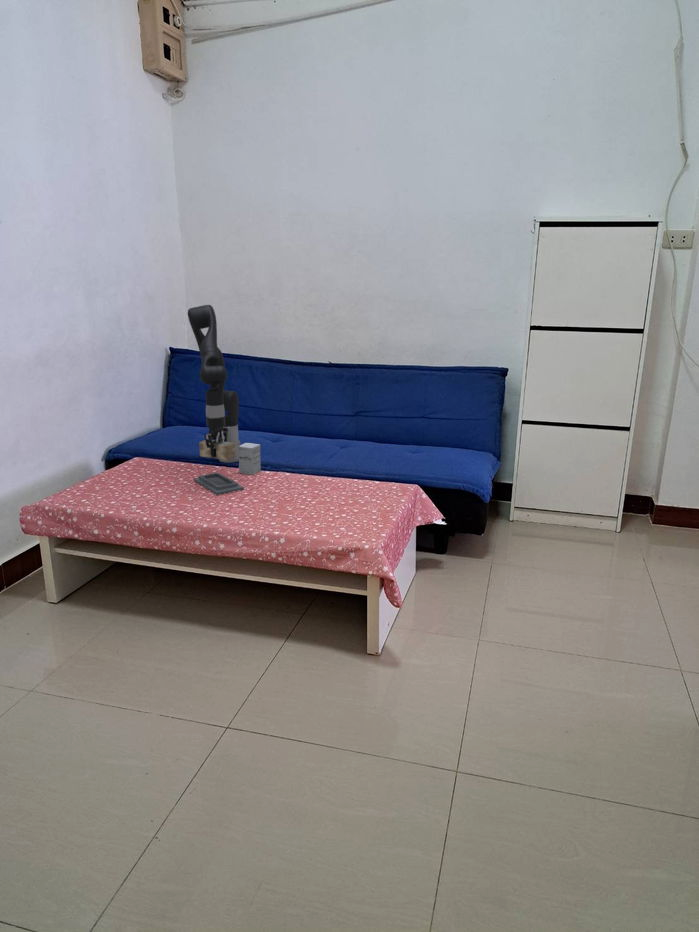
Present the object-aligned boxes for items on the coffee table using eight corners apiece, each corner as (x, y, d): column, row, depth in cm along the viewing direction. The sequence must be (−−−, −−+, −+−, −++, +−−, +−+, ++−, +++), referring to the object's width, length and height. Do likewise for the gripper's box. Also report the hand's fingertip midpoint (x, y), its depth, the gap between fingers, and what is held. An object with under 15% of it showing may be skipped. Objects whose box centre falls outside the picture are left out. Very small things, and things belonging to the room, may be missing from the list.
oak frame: (199, 456, 273) (199, 441, 271) (206, 453, 278) (206, 438, 276) (228, 460, 268) (228, 445, 266) (235, 457, 273) (234, 442, 271)
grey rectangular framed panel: (193, 481, 281) (193, 475, 281) (219, 476, 288) (219, 470, 287) (216, 495, 265) (216, 489, 264) (243, 489, 272) (243, 483, 271)
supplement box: (238, 473, 293) (237, 446, 289) (247, 468, 299) (246, 442, 296) (253, 475, 290) (252, 447, 287) (261, 470, 297) (260, 443, 293)
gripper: (217, 410, 275) (219, 449, 280) (197, 417, 263) (199, 458, 268) (232, 412, 273) (234, 451, 278) (213, 419, 260) (215, 460, 265)
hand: (217, 455), depth 273 cm, fingers closed on oak frame, 5 cm apart
